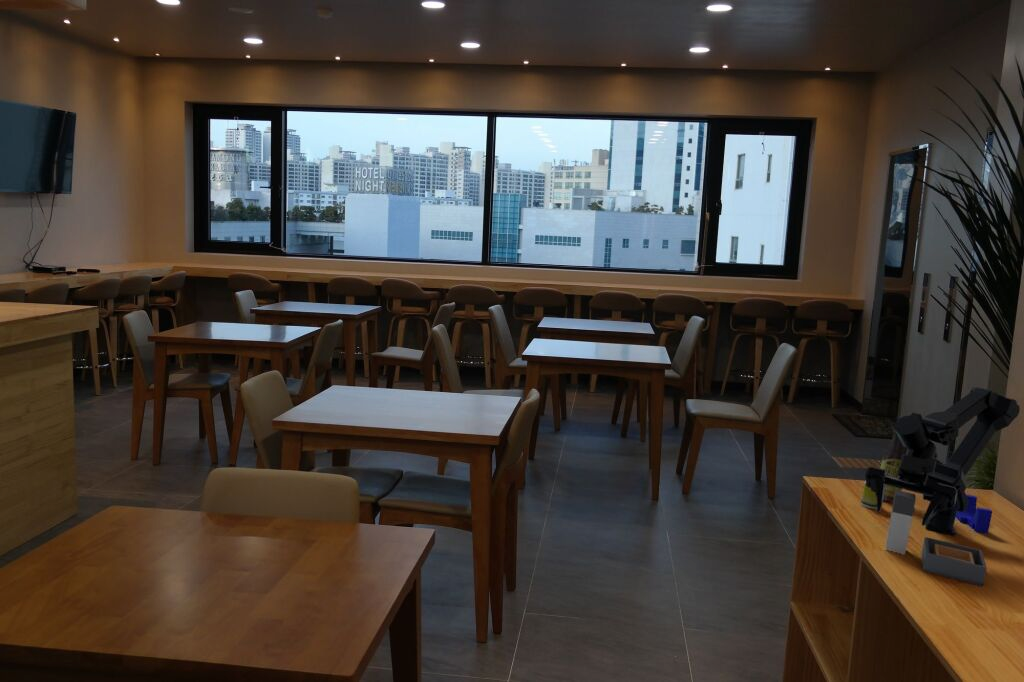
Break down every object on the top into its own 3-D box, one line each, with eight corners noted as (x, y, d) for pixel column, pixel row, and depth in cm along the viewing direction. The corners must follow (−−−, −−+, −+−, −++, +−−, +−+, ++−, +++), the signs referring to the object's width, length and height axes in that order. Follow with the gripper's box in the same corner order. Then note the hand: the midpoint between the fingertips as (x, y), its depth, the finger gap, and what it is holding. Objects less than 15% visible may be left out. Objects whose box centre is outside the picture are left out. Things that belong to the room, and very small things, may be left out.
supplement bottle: (878, 510, 210) (884, 479, 208) (859, 505, 212) (864, 474, 211) (881, 506, 214) (887, 475, 212) (862, 501, 216) (867, 470, 215)
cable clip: (952, 514, 214) (956, 493, 213) (970, 517, 213) (975, 495, 212) (968, 531, 202) (972, 508, 201) (987, 534, 201) (992, 511, 200)
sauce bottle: (877, 501, 218) (891, 429, 215) (871, 493, 224) (884, 423, 221) (903, 505, 217) (917, 432, 214) (896, 497, 223) (909, 427, 220)
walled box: (921, 553, 183) (924, 536, 182) (978, 567, 178) (981, 550, 178) (922, 571, 173) (926, 553, 172) (982, 586, 168) (986, 567, 168)
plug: (885, 544, 186) (895, 490, 184) (904, 549, 184) (915, 494, 182) (885, 550, 183) (895, 494, 181) (904, 555, 181) (915, 499, 179)
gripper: (874, 432, 189) (855, 487, 182) (964, 452, 179) (948, 512, 171) (875, 458, 197) (857, 512, 189) (962, 479, 186) (946, 538, 179)
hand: (900, 518), depth 182 cm, fingers open, 9 cm apart
